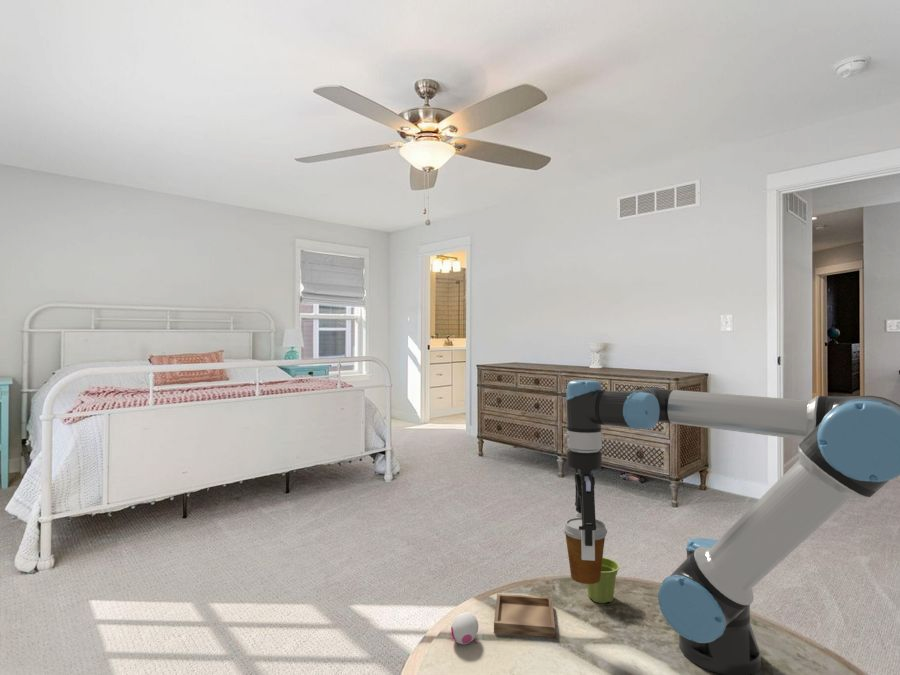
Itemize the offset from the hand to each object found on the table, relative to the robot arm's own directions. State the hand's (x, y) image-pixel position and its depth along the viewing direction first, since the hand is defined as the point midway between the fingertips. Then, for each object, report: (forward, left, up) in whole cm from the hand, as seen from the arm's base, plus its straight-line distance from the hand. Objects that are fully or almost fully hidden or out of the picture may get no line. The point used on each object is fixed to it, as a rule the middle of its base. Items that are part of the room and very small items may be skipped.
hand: (585, 550), depth 111 cm
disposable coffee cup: (0, 0, -6) cm, 6 cm away
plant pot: (-6, -19, -20) cm, 28 cm away
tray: (+14, -6, -19) cm, 24 cm away
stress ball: (+27, +5, -20) cm, 34 cm away
